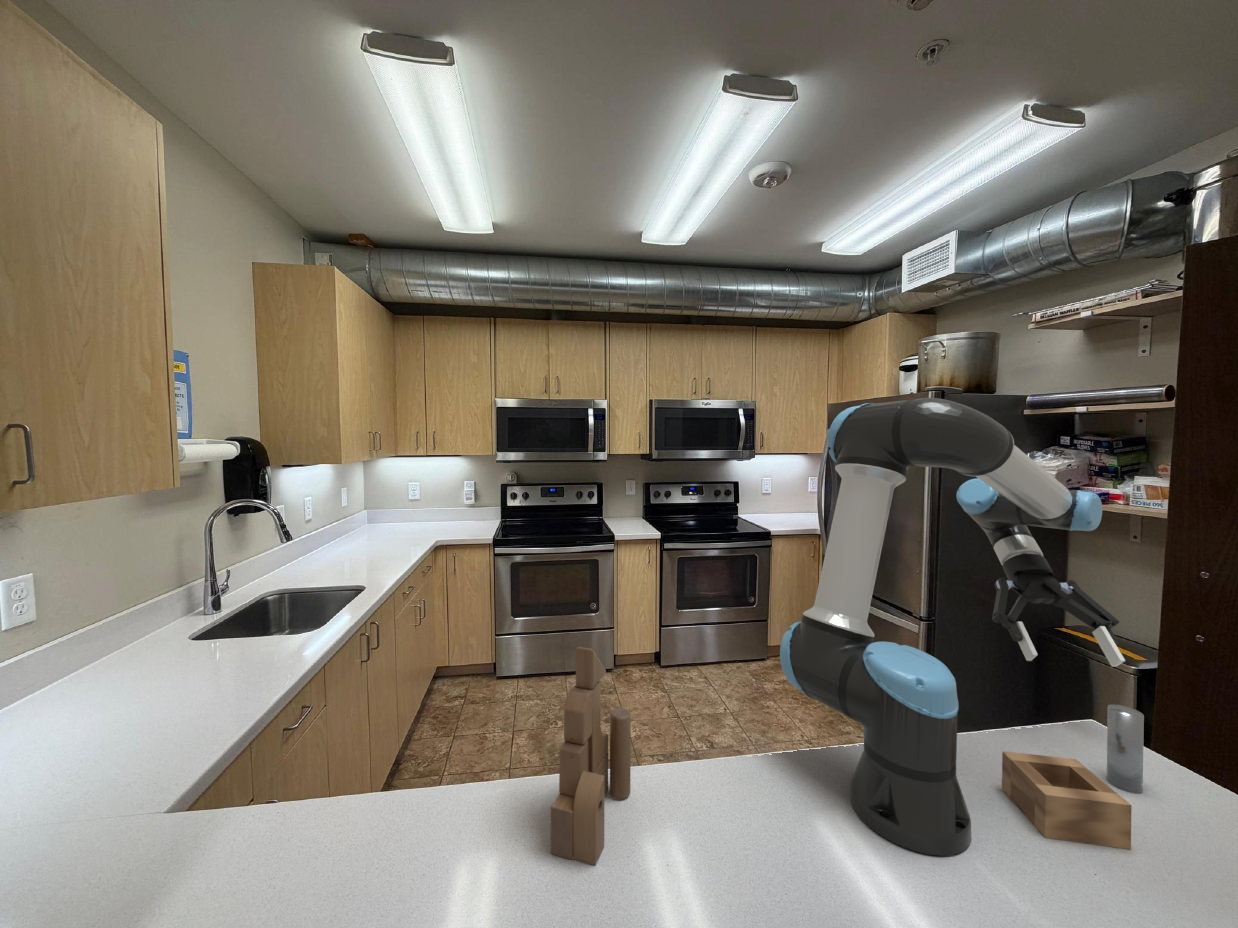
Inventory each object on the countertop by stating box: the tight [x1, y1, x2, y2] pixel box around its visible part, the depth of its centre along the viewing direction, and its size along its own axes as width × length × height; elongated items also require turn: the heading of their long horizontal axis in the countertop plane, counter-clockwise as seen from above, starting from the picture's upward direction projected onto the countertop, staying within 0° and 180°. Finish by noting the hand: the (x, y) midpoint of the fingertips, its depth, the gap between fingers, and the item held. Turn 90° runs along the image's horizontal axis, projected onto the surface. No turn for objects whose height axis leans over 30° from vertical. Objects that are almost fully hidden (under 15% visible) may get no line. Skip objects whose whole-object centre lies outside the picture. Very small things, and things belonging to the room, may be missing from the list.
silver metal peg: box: [1106, 704, 1145, 794], centre depth 77 cm, size 4×4×12 cm
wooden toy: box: [550, 646, 632, 866], centre depth 69 cm, size 15×7×25 cm, turn 161°
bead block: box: [1001, 751, 1133, 850], centre depth 70 cm, size 10×10×6 cm
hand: (1074, 660), depth 87 cm, fingers open, 13 cm apart
